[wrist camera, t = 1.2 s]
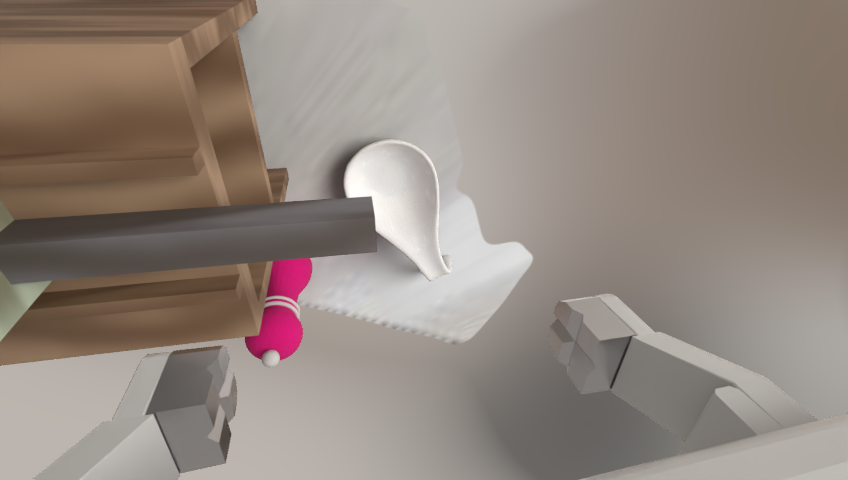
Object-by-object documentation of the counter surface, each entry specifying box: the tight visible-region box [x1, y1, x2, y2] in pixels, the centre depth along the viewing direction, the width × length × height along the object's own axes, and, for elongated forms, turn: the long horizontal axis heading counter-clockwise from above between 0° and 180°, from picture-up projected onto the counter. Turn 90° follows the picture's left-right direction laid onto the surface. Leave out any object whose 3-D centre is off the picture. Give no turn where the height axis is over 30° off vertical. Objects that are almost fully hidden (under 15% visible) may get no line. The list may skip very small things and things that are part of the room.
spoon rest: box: [343, 139, 452, 281], centre depth 54 cm, size 24×12×7 cm, turn 24°
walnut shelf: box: [0, 0, 289, 366], centre depth 33 cm, size 20×20×28 cm
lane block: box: [0, 196, 377, 341], centre depth 21 cm, size 6×26×6 cm, turn 88°
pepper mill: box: [245, 258, 312, 367], centre depth 49 cm, size 7×7×20 cm
